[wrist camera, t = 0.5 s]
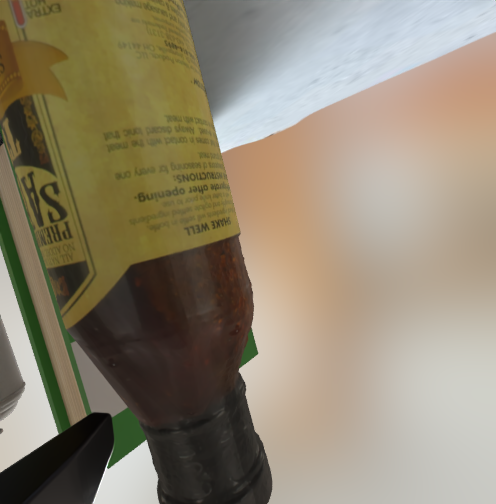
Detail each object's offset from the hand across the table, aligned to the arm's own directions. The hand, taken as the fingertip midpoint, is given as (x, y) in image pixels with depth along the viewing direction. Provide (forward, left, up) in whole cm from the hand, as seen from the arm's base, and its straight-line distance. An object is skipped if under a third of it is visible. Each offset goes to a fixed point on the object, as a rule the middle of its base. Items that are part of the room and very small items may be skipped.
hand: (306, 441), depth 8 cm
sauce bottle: (+4, -3, -16) cm, 17 cm away
